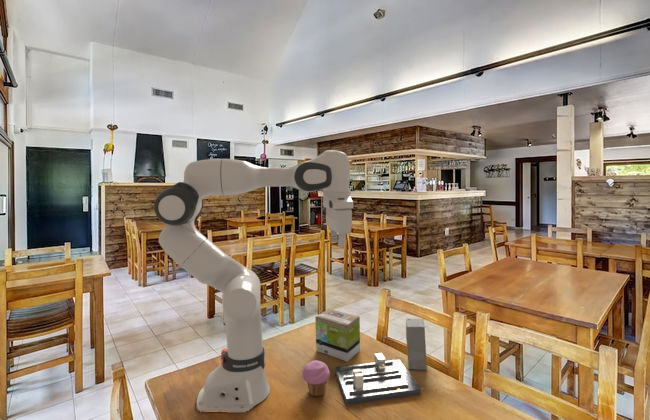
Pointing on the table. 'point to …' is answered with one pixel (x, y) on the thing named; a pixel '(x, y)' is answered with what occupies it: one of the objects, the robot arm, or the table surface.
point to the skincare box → (416, 344)
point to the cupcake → (316, 377)
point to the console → (377, 381)
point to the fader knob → (358, 379)
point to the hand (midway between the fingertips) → (337, 244)
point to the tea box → (338, 334)
